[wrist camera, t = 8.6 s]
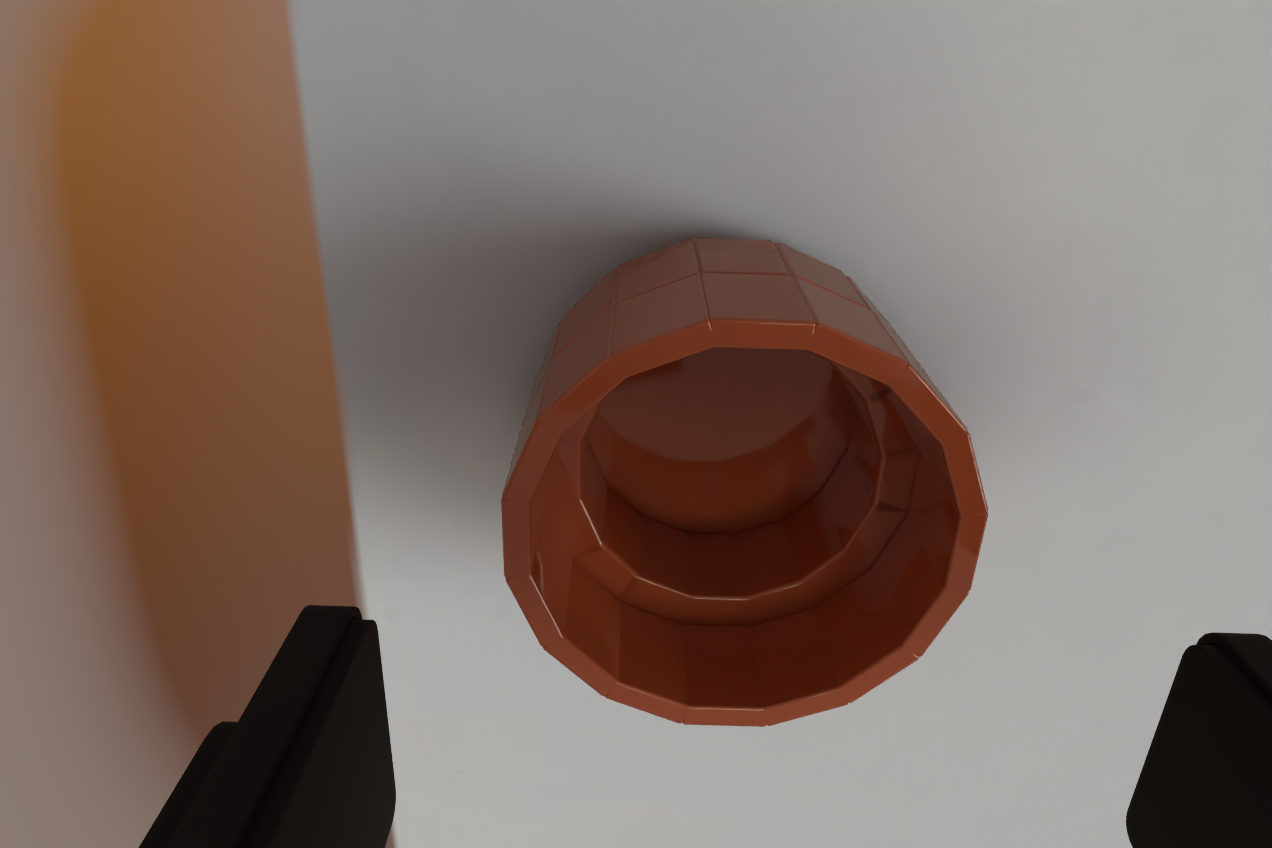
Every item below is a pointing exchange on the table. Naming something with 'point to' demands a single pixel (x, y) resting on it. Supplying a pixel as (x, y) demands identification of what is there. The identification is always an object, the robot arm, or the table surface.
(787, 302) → the terracotta bowl
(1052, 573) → the table surface
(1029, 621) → the table surface
